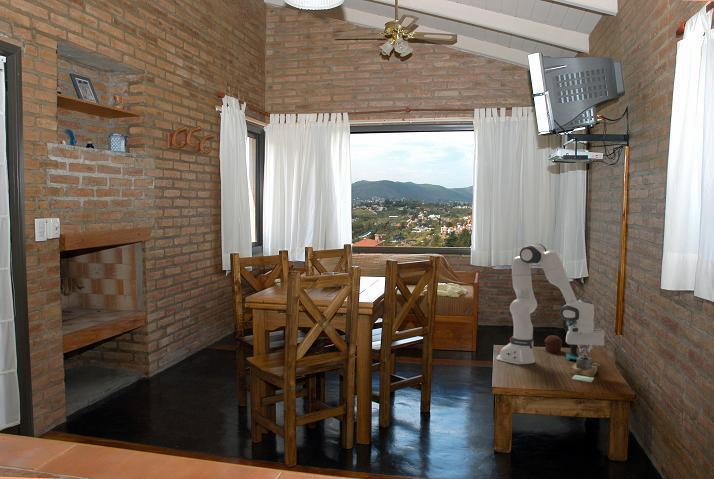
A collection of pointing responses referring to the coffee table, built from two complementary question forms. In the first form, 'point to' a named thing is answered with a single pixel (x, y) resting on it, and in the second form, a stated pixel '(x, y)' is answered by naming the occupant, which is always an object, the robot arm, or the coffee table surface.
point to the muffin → (553, 344)
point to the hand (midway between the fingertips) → (584, 352)
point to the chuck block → (584, 367)
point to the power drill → (572, 345)
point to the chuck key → (584, 353)
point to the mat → (583, 378)
